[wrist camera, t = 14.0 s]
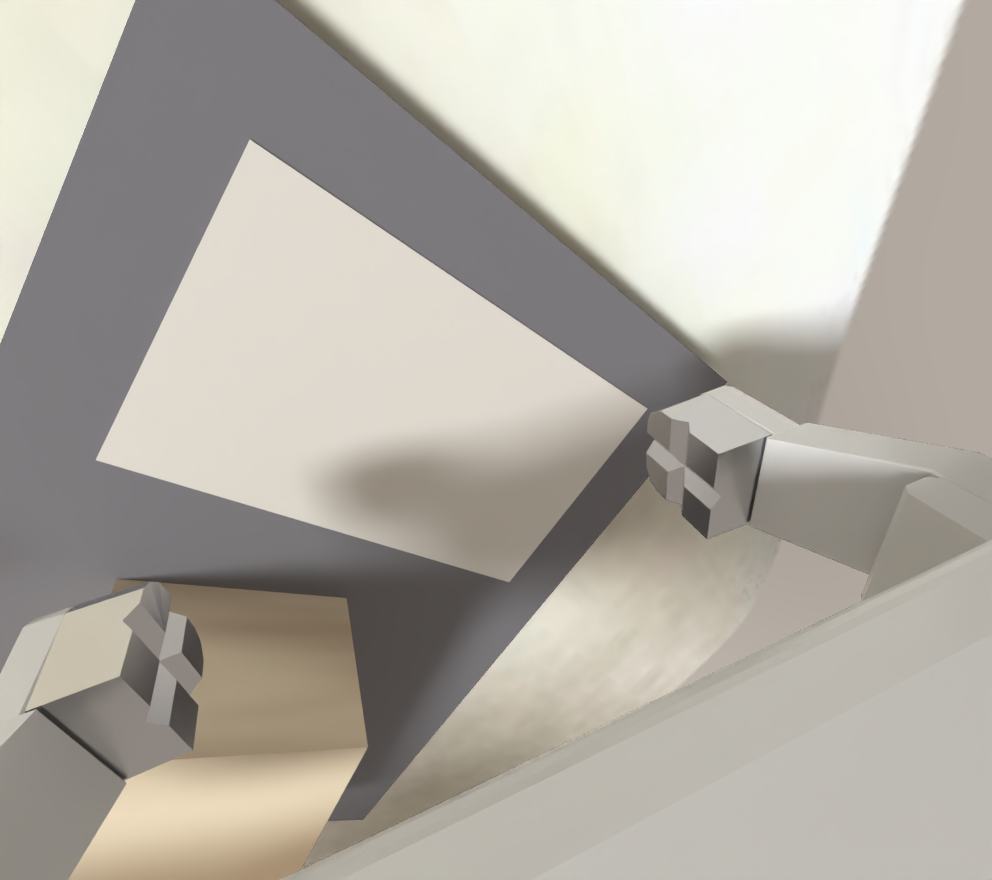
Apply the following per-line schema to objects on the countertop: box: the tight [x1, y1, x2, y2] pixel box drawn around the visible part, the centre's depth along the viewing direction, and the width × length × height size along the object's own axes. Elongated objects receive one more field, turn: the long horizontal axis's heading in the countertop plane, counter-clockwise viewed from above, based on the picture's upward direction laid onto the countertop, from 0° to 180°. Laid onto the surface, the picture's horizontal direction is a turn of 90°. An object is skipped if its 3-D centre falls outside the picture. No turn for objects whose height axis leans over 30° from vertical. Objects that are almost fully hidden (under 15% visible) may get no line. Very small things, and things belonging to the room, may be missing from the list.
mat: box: [0, 0, 727, 821], centre depth 13 cm, size 20×14×1 cm
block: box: [68, 579, 368, 880], centre depth 12 cm, size 9×5×4 cm, turn 153°
